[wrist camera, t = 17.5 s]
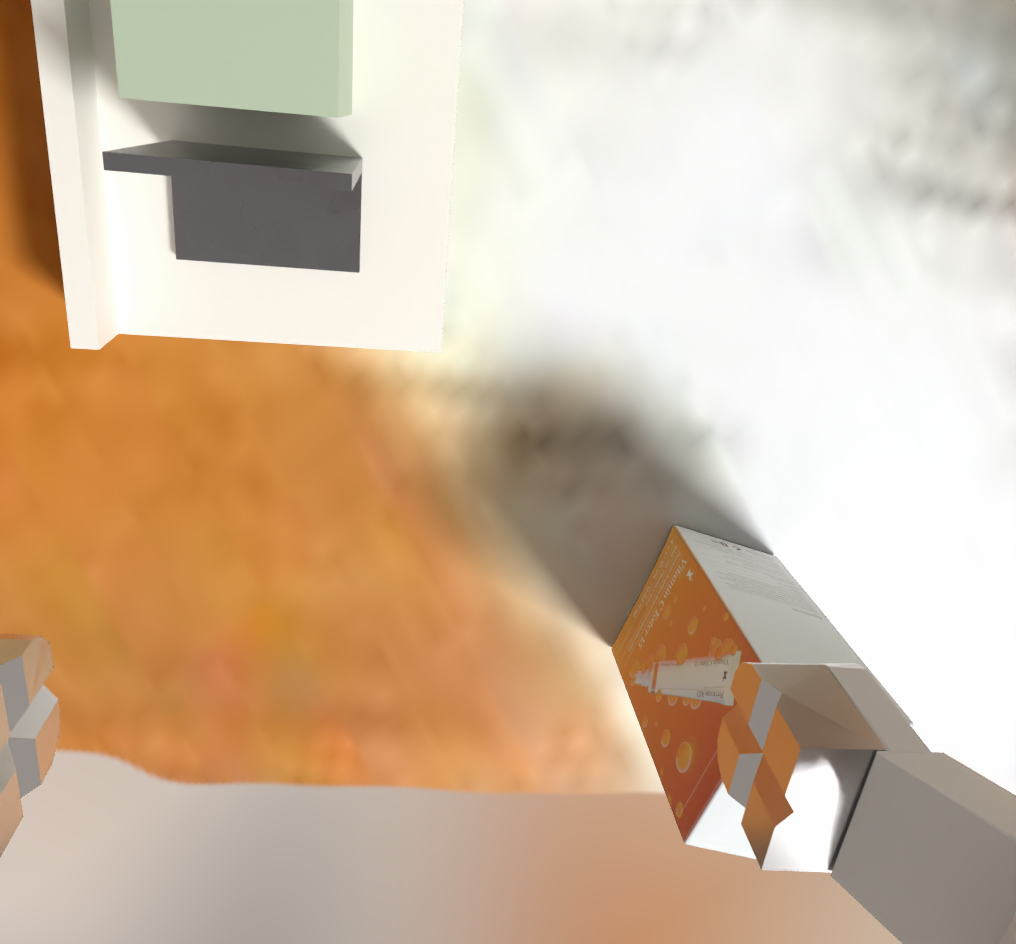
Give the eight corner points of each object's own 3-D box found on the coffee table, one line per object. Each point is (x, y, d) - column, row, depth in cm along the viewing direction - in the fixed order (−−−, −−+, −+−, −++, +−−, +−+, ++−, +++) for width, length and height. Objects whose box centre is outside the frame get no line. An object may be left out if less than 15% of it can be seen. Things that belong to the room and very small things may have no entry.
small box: (671, 520, 42) (779, 686, 30) (778, 554, 43) (921, 724, 31) (605, 649, 44) (681, 849, 33) (708, 677, 46) (816, 876, 34)
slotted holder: (480, -295, 28) (519, -481, 19) (440, 345, 37) (453, 423, 28) (32, -373, 26) (-160, -624, 17) (101, 324, 34) (-2, 402, 26)
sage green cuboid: (353, -7, 30) (339, -43, 22) (352, 114, 31) (338, 117, 24) (178, -27, 29) (103, -71, 22) (185, 99, 30) (119, 97, 23)
